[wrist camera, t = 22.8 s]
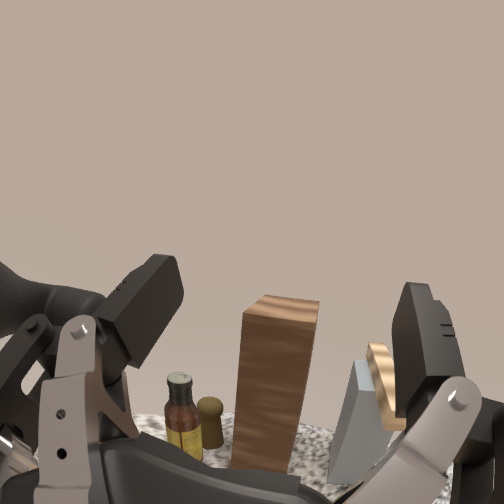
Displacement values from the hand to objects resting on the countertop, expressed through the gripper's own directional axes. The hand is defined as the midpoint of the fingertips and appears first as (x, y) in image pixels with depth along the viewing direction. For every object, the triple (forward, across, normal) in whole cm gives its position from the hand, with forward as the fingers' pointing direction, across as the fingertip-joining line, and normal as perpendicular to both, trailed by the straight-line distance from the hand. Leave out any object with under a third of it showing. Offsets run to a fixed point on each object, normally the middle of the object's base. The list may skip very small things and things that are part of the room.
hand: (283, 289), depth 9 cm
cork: (+9, +16, +53) cm, 56 cm away
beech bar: (+17, -13, +32) cm, 38 cm away
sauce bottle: (+2, +18, +49) cm, 52 cm away
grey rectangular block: (+9, -13, +53) cm, 55 cm away
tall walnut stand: (+9, +4, +53) cm, 54 cm away
